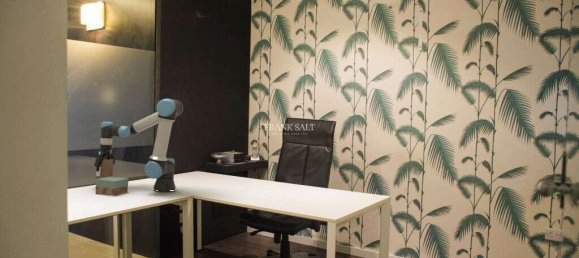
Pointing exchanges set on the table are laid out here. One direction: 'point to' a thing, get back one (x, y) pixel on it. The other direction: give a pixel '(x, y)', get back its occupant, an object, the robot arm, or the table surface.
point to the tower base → (111, 191)
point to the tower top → (112, 182)
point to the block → (106, 168)
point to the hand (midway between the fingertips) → (104, 174)
